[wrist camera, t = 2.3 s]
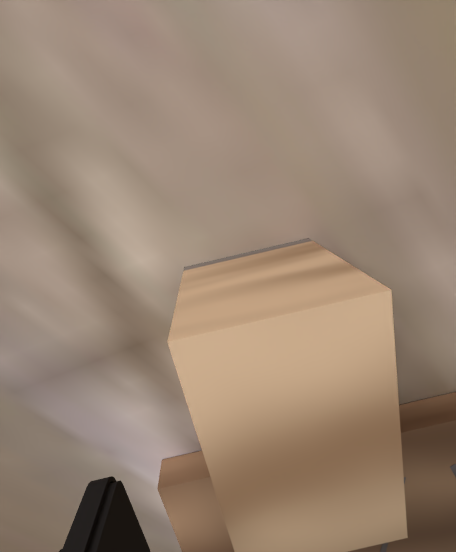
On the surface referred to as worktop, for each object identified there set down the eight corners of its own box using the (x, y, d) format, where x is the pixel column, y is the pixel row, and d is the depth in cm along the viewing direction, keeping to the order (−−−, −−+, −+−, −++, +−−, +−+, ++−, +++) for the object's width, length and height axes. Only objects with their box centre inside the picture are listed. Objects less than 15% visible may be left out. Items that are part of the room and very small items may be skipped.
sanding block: (184, 266, 13) (167, 341, 7) (307, 237, 13) (391, 290, 7) (228, 424, 15) (241, 575, 9) (331, 401, 15) (407, 537, 9)
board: (162, 459, 15) (157, 489, 14) (612, 355, 15) (654, 374, 14) (218, 611, 19) (219, 646, 18) (581, 528, 19) (612, 557, 18)
